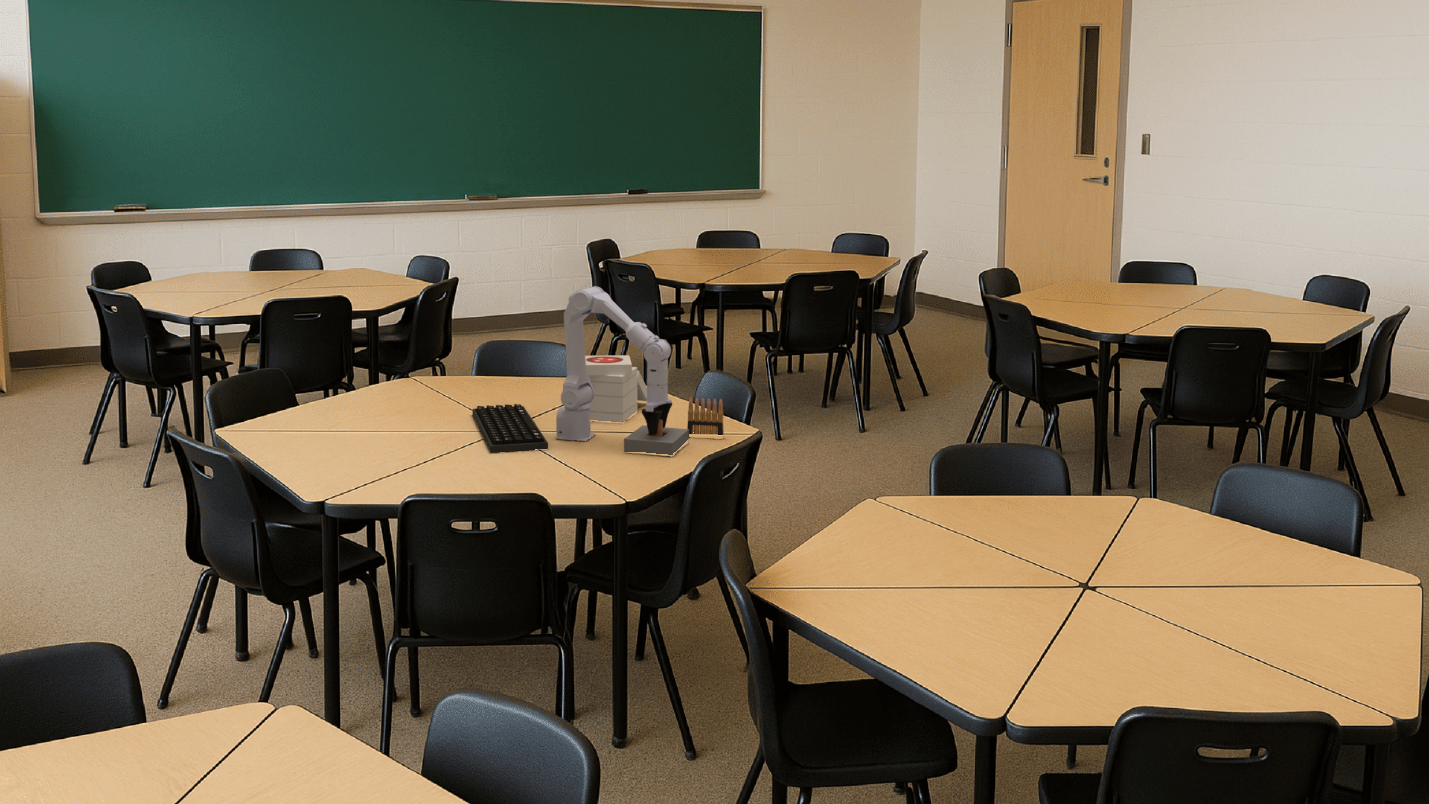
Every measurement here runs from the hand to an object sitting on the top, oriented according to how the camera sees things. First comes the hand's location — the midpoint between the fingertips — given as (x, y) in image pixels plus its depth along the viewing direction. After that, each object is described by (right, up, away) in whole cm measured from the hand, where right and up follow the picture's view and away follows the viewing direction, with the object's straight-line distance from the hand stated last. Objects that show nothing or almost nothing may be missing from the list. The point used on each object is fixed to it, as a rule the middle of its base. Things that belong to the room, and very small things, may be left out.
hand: (657, 430), depth 327 cm
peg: (0, -5, +1) cm, 5 cm away
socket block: (0, -5, +1) cm, 5 cm away
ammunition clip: (+13, -3, +13) cm, 19 cm away
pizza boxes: (-16, +5, +41) cm, 44 cm away
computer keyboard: (-45, -1, +16) cm, 47 cm away
